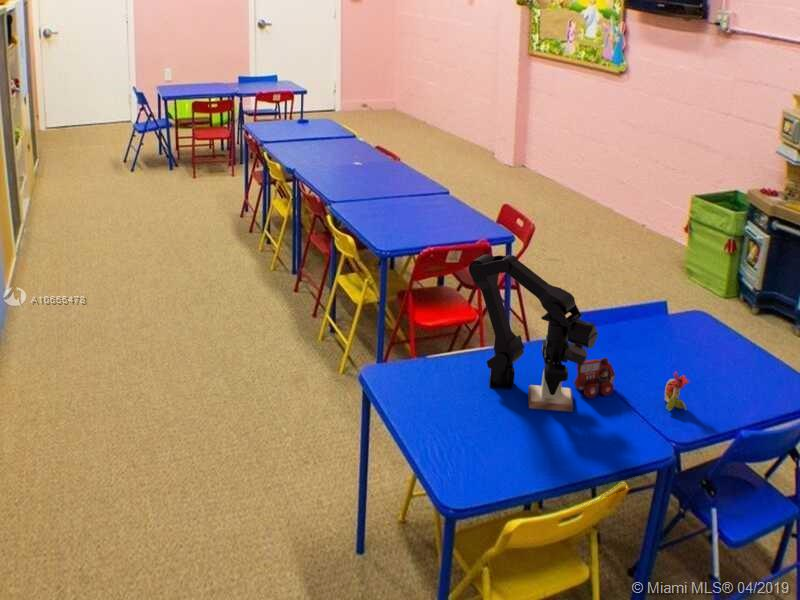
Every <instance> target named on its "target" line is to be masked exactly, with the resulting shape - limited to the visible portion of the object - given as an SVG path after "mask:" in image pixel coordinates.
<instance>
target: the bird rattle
mask: <svg viewBox="0 0 800 600" xmlns="http://www.w3.org/2000/svg"><path fill="white" fill-rule="evenodd" d="M673 376H674V378H670V379H669V380H668V381H667V382H666V385H665V387H664V388H665V389H664V401H665V402H666V403H667V404H666V407H665V409H666V410H667V411H668V412H671V411H672V409H674V408H677V409H684V410H685V411H687V407H686V404H685V403H684V401H683V400H681V399H679V398H680V392H681V389H682V390H683V389H684V386H685V385H687V384H689V383H690V382H691V381H690V380H689V379H687V377H686V375H684V374H683V375H681V376H680V377H679V375H678V372H677V371H675V372H674V373H673Z"/></svg>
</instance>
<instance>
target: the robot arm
mask: <svg viewBox="0 0 800 600" xmlns="http://www.w3.org/2000/svg"><path fill="white" fill-rule="evenodd" d="M467 269H468V272H469V275H470V278H471V280H472V281H473V283H474V284H475V285H476V286H477V288H478V289H479V290H480V292H481V293H482V298H483V300H484V304H485V307H486V310H487V314H488V317H489V320H490V324H491V327H492V330H493V333H494V344H493V351H494V353H493V354H494V355H493V356H492V357H490V358H489V359H488V360H486V364H487V368H488V369H490V375H489V384H488V385H489V388H493V389H494V388H495V389H503V390H504V389H506V390H507V389H508V390H512V389H513V385H514V383H515V373H516V372H515V370H516V369H515V368H514V363H516V362H517V361H518V360H519V359H520V358H522V357H523V355H524V352H525V350H524V349H525V345H524V343H523V339H522V336H521V334H518V335H516V334H515V333H514V332H513V331H512V328H511V324H510V322H509V318H508V315H507V311H506V309H505V305H504V301H503V299H502V295H501V291H500V289H499V286H498V285H499V284H498V283H499V282H498V281H499V276H500V274H506V275H508V276H509V277H510V278H511V279H513V280H514V281H515V282H517V283H518V284H519V285H520V286H522V287H523V288H524V289H526V290H527V291H528V292H529V293H531V294H532V295H533V296H534V297H536V298H537V300H539V302H540V304H541V306H542V308H543V309H544V310H545V311H546V313H545V314H543V315H542V316H541V317H540V318H541V320H543V321H545V322H547V334H546V336H545V339H544V341H543V340H542V345H541V350H542V352H541V353H542V358H543V361H544V366H543V370H544V379H545V381H546V383H547V386H548V389H549V392H550V395H555V392H556V390H557V388H558V386H559V384H560V382H561V381H562V382H566V381H568V380H569V379H568V378H569V370H568V367H567V366H566V365H565V364H563V363H568V361H569V362H573V363H575V364H576V365H577V364H578V365H580V366H582V365H583V363H584V362H585V361H587V358H588V351H587V350H586V349H593V347H594V346H595V344H596V341H597V338H598V335H599V333H598V329H597V328H596V324H595V323H594V322H588V321H586V320H581V318H582V317H583V315H582V314H581V312H580V309H579V307H578V306H577V304H576V300H575V299H576V298H575V297H574V296H573V294H572V293H570V292H568V291H567V290H565V289H563V288H561V287H559V286H554V285H552V284H550V283H548V282H547V281H546V280H544V279H543V278H542V277H541V276H539V275H538V274H536V273H535V271H533V270H531V269H530V268H529V267H528V266H526V265H525V264H524V263H522V262H521V261H520V260H518V257H517V256H515V255H514V254H513V255H512V254H509V255H501V254H500V255H499V254H498V255H492V254H488V253H487V254H483V255H481V256H479V257H477V258H475V259H474V260H472V261H471V262H470V264H469V266H468V268H467ZM569 313H570V315H569V316H566V315H567V314H569ZM562 362H563V363H562Z"/></svg>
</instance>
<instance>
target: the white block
mask: <svg viewBox="0 0 800 600" xmlns="http://www.w3.org/2000/svg"><path fill="white" fill-rule="evenodd" d="M562 385H563V381H561V382H560V384H559V386H558V388H557V390H556V392H555V395H550V392H549V389H548V386H547V383H546V381H545V379H544V369H543V370H542V379H541V385H540V386H541V392H542V398H552V399H560V395H561V387H563V386H562Z"/></svg>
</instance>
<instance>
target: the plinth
mask: <svg viewBox="0 0 800 600" xmlns="http://www.w3.org/2000/svg"><path fill="white" fill-rule="evenodd" d="M541 386H542V385H536V384H530V385H528V389H527V390H528V391H527V392H528V409H534V410H535V409H536V410H549V411H559V412H562V411H563V412H572V413H573V411H574V410H573V409H574V403H573V393H572V389H571V388H570V387H564V386H562V387H561V395H560V399H552V398H542V392H541Z"/></svg>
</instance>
